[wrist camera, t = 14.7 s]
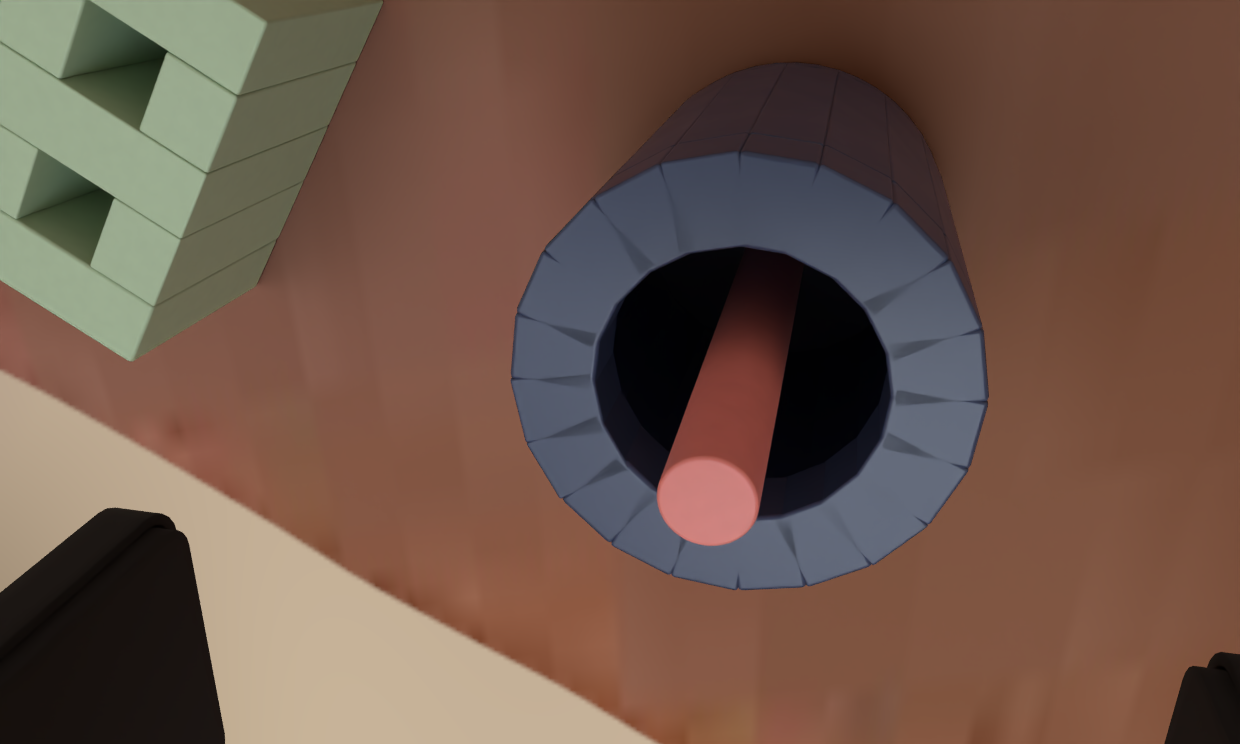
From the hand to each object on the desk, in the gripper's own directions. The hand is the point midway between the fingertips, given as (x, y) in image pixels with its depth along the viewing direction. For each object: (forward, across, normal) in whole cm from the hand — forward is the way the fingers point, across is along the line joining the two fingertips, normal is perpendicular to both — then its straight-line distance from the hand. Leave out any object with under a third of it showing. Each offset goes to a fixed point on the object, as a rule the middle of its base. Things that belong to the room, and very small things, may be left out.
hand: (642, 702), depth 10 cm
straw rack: (+19, +19, -4) cm, 27 cm away
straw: (+19, 0, +1) cm, 19 cm away
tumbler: (+19, 0, +1) cm, 19 cm away
